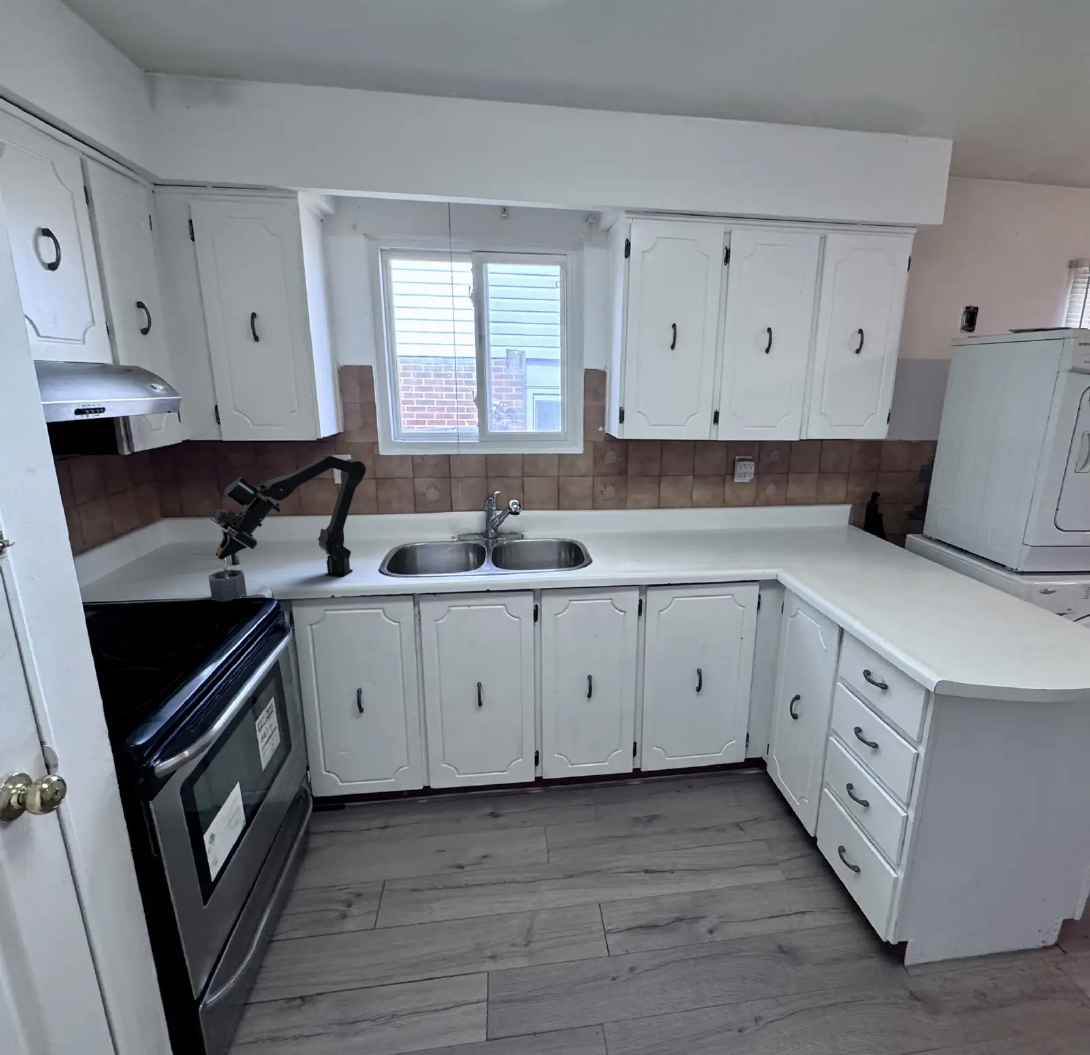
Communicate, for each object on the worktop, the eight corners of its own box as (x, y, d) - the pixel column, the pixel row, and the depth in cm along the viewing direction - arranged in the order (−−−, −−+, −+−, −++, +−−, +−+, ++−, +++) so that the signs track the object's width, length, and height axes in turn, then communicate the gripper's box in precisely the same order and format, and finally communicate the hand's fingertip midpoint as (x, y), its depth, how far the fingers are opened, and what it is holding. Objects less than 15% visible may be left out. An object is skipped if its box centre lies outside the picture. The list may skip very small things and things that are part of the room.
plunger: (244, 578, 168) (240, 545, 165) (228, 586, 162) (223, 552, 159) (225, 576, 169) (221, 544, 167) (209, 584, 163) (203, 550, 160)
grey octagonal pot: (253, 592, 170) (250, 571, 168) (231, 603, 161) (228, 581, 160) (227, 590, 172) (224, 568, 170) (204, 601, 163) (200, 578, 161)
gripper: (222, 494, 168) (186, 535, 164) (239, 504, 155) (199, 549, 151) (254, 515, 176) (219, 555, 171) (272, 527, 162) (235, 570, 158)
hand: (218, 557), depth 163 cm, fingers closed on plunger, 3 cm apart
